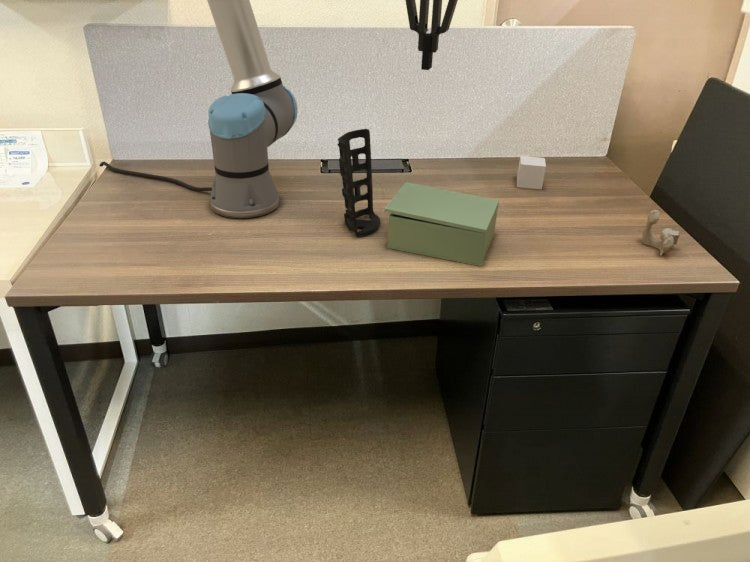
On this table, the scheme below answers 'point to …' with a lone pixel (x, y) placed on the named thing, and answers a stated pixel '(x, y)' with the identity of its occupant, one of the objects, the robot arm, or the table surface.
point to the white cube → (531, 172)
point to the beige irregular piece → (667, 235)
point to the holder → (357, 183)
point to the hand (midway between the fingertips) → (426, 68)
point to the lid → (443, 207)
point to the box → (439, 239)
